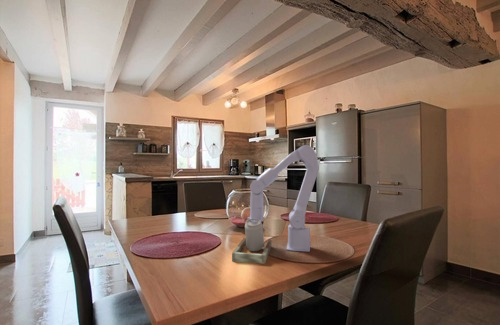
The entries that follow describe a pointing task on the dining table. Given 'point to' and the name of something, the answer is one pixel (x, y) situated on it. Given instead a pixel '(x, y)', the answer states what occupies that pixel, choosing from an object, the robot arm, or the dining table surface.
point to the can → (254, 235)
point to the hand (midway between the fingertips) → (256, 239)
